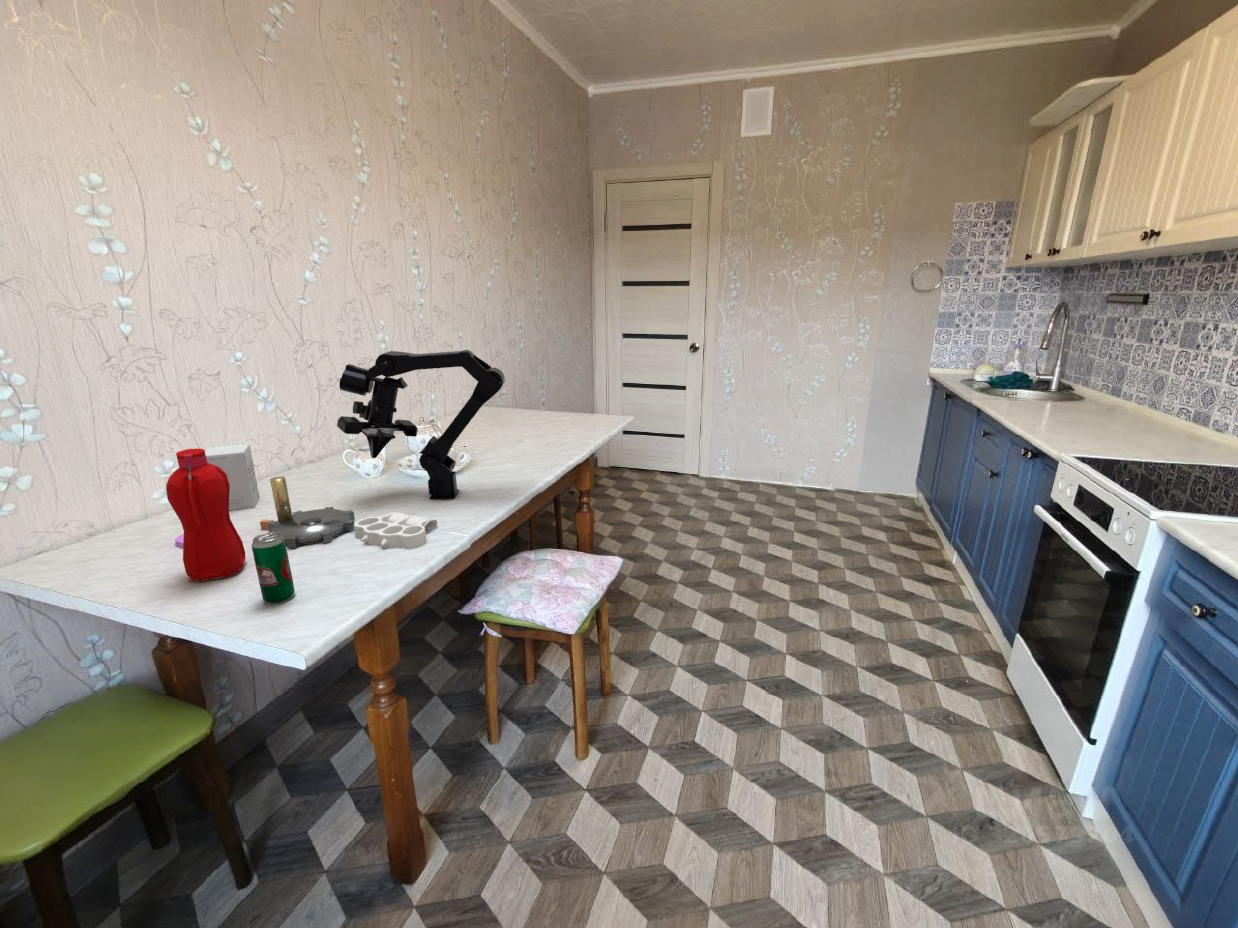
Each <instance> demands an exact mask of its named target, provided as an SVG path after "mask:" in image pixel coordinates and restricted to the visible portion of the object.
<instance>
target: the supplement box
mask: <svg viewBox="0 0 1238 928" xmlns="http://www.w3.org/2000/svg"><path fill="white" fill-rule="evenodd" d="M251 450H252V448H251V444H250V443H244V444H231V445H230V444H229V445H222V446H221V445H220V446H211V447H208V449H207V450H206V451H205V454H206V459H207V463H210V464H213V465H216V466H218V467H220V468H221V469H222V470H223V471H224V472H225V473H226V475H227V478H228V481H229V484H230V493H229V511H235V510H245V509H252V508H253V509H254V508H256V505H257V504H258V502H259V499H260V493H259V492H260V491H259V488H258V481H257V478H256V477H257V476H256V472H255V471H256V470H255V466H254V461H253V455H252V451H251Z"/></svg>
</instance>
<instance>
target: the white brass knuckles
mask: <svg viewBox="0 0 1238 928" xmlns="http://www.w3.org/2000/svg"><path fill="white" fill-rule="evenodd" d="M437 526H438V521H437V519H434V518H432V517H431V518H430V517H429V518H428V517H422V516H417V515H415V514H407V513H402V512H399V511H392V512H389V513H387V514H385V515H382V516H369V517H364V518H361V519H358V520H357V521H354V529H353V530H354V534H355V538H356V539H360V540H359V541H360V542H364V543H366V544H368V545H369V546H370V545H372V546H373V545H374V546H379V547H381V548H385V549H388V548H390V549H391V548H403V549H414V548H418V547H420V546H423V545H424V544H426V543H427V535H426V534H427V533H430V532H432V531H434V530H435V529H436V528H437Z"/></svg>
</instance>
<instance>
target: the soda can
mask: <svg viewBox="0 0 1238 928" xmlns="http://www.w3.org/2000/svg"><path fill="white" fill-rule="evenodd" d="M268 532H269V531H268ZM287 548H288V547H287V545H286V543H285V539H284V538H283V537H282V536H281V533H278V532H269V533H267V532H264V533H261V534H259V535H256V536H255V537H253V539H252V544H251V551H252V554H253V559H254V563H255V564H254V565H255V570H256V574H257V579H258V583H259V588H260V592H261V593H260V594H261V598H262V600H263V601H264V602H266V603H268V604H278V603H279V604H280V603H283V602H285V601H287V600H290V598H291V597H292V596H294V594H295V592H296V589H295V586H294V579H293V574H292V568H291V565H290V560H289V554H288V549H287Z"/></svg>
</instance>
